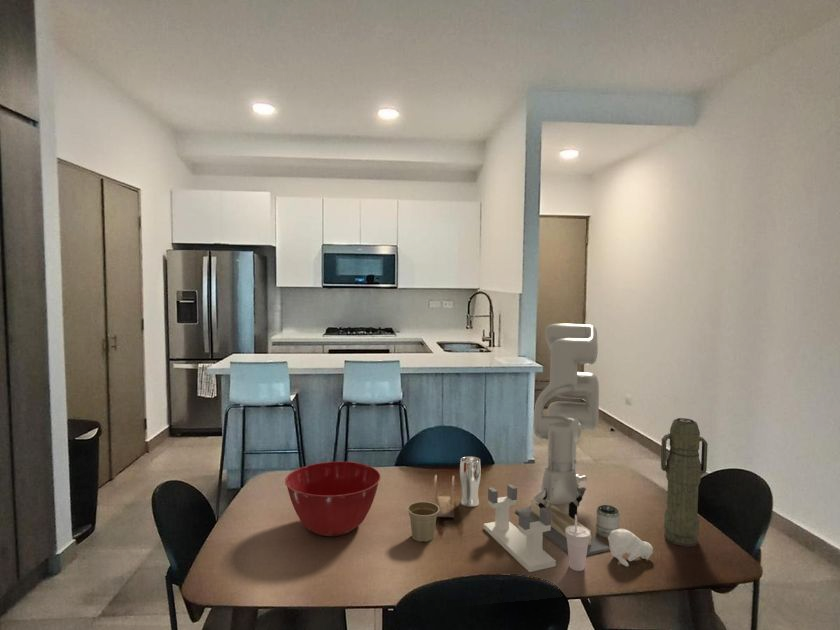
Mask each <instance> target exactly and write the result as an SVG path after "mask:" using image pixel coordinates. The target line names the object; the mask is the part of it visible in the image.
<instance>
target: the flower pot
mask: <svg viewBox="0 0 840 630" xmlns="http://www.w3.org/2000/svg"><path fill="white" fill-rule="evenodd" d="M406 510H407V512H408V516H409V520H410V521H409V522H410V527H411V536H412V539H414V541H417V542H426V543H427V542H430V541H431V540H433V539H434V537H435V529H436V522H437V517H438V515H439V512H440V506H439V505H438V504H437V503H434V502H429V501H417V502H412V503H410V504H409V505H408V506H407V507H406Z"/></svg>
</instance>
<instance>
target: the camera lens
mask: <svg viewBox="0 0 840 630" xmlns="http://www.w3.org/2000/svg"><path fill="white" fill-rule="evenodd" d="M595 524H596V526H595V527H596V534H598V535H599V536H601V537H603V538H606V539H608V537H609V535H610V533H611V531H613V530H617V529H620V511H619V509H618V508H617V507H615V506H612V505H608V504H601V505H599V506H598V507H597V508H596V523H595Z"/></svg>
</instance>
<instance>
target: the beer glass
mask: <svg viewBox="0 0 840 630" xmlns="http://www.w3.org/2000/svg"><path fill="white" fill-rule="evenodd" d="M481 470H482V469H481V458H479V457H476V456H471V455H470V456H464V457H463V456H462V457H461V458H460V464H459V479H460V480H459V481H460V485H461V493H462V494H461V499H460V504H461V505H462V506H463V507H468V508H473V507H475V508H476V507H478V506H479V504H480V500H479V487H480V483H481V476H482V473H481V472H482V471H481Z"/></svg>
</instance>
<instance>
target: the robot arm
mask: <svg viewBox="0 0 840 630" xmlns="http://www.w3.org/2000/svg"><path fill="white" fill-rule="evenodd" d="M544 337H545V341H546V344H547V346H548V349H549V351H550V368H549V369H550V370H549V383H548V385H547V386H546V387H545V388H544V389H543V390H542V391H541V392H540V393H539V395H538V397H537V399H536V401H535V404H534V411H533V412H534V413H533V433H534V436H535V437H536V438H538V439H539V440H545V441H547V467H546V468H545V469H544V472H543V475H542V481H541V490H540V492H538V493H537V494H536V495H534V497H533V499H535V502H536V504H537V505H538V506H539V507H540V508H544V507H545V505H546V504H547V503H548V504H547V505H546V507H545V508H546V509H547V510H549V509H550V508H551V506H552V505H554V506H556V505H561V504H562V505H563V504H568V516H570V517H571V518H573V519H574V520H575V515H577V516H578V508H579V506H580V503H581V501H582V500H583V497H584V494H585V492H586V491H585V489H583V488H581V485H580V483H581V482H586V481H587V480H588V477H587V476H586V475H579V474H577V452H578V451H577V446H578V445H577V444H578V443H577V442H578V439H579V438H580V437H581V434H582V431H594V430H596V429H597V428H598V426H599V412H600V411H599V409H600V407H599V406H600V404H599V403H600V401H599V400H600V397H599V396H600V394H599V393H600V388H599V387H600V385H599V380H598V377H597V375H596V374H594V373H593V372H584V371H578V365H594V364H595V363H596V361H597V358H598V354H599V353H598V351H599V349H598V344H599V343H598V331H597V328H596V327H595V326H594V325H593V324H589V323H588V324H585V323H583V324H582V323H552V324H549V325H547V326H546V327H545V330H544ZM554 397H558V398H563V399H575V400H577V399H578V400H583V401H585V402H576V401H564V400H563V401H562V400H559V401H558V400H557V401H554V402H550V404H549V405H548V406H547V411H546V413H547V415H545V414H544V408H545V405H546V404H547V402H548V401H549V400H550V399H552V398H554ZM541 499H543V502H541Z"/></svg>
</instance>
